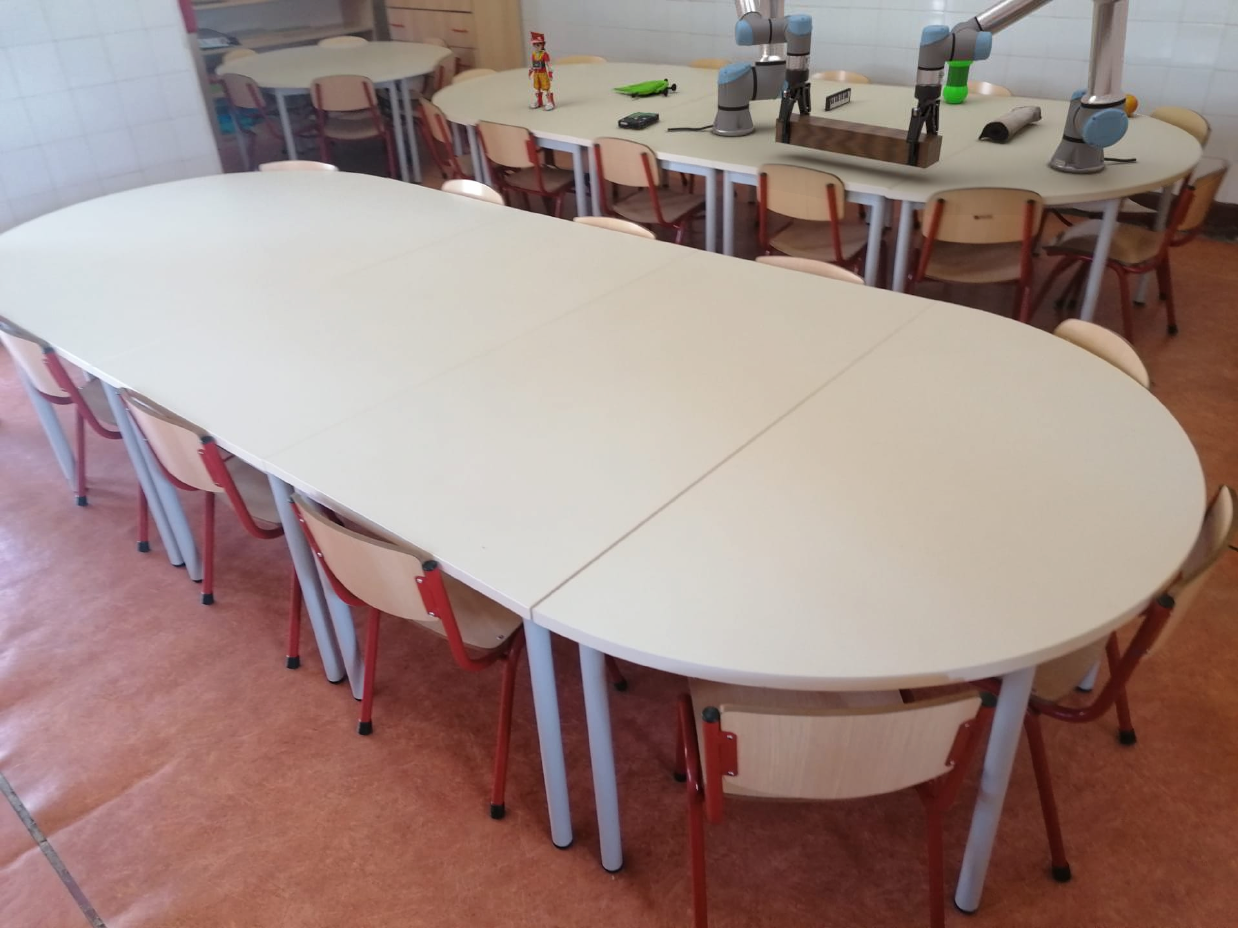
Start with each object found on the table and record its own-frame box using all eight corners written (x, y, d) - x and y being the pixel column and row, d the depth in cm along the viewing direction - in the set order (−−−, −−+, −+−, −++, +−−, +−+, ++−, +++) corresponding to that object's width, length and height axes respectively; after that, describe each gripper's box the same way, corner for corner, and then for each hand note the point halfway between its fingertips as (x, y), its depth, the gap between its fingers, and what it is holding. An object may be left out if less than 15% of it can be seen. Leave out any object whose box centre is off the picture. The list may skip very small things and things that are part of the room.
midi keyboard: (827, 110, 354) (828, 97, 351) (824, 110, 354) (825, 97, 352) (850, 101, 364) (851, 88, 361) (847, 101, 365) (848, 88, 362)
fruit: (1107, 107, 323) (1124, 87, 320) (1104, 110, 331) (1120, 91, 328) (1128, 120, 322) (1144, 99, 319) (1124, 123, 330) (1140, 103, 327)
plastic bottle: (973, 101, 354) (984, 32, 339) (955, 106, 349) (966, 36, 335) (952, 97, 361) (962, 29, 346) (934, 102, 356) (944, 33, 342)
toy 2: (686, 85, 398) (631, 84, 414) (685, 72, 395) (629, 72, 411) (651, 104, 381) (596, 103, 397) (650, 92, 378) (594, 91, 394)
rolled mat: (1009, 110, 328) (1033, 93, 320) (1023, 131, 328) (1047, 114, 320) (974, 133, 311) (998, 115, 302) (988, 155, 311) (1013, 138, 303)
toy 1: (525, 109, 381) (517, 32, 364) (534, 104, 388) (527, 28, 371) (550, 110, 377) (543, 32, 360) (559, 105, 384) (553, 28, 367)
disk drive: (640, 130, 344) (659, 120, 354) (640, 123, 343) (659, 113, 353) (617, 128, 349) (637, 118, 359) (617, 120, 348) (636, 111, 358)
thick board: (775, 142, 303) (775, 118, 299) (789, 135, 309) (790, 112, 304) (925, 169, 272) (929, 143, 267) (939, 161, 277) (942, 135, 273)
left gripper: (788, 76, 282) (784, 149, 295) (825, 62, 294) (820, 133, 307) (768, 74, 286) (765, 145, 299) (806, 60, 298) (801, 129, 312)
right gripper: (923, 93, 255) (913, 172, 268) (957, 77, 268) (947, 153, 281) (899, 90, 260) (890, 168, 273) (934, 75, 272) (924, 150, 285)
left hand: (793, 139), depth 303 cm, fingers closed on thick board, 9 cm apart
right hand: (919, 161), depth 277 cm, fingers closed on thick board, 9 cm apart
